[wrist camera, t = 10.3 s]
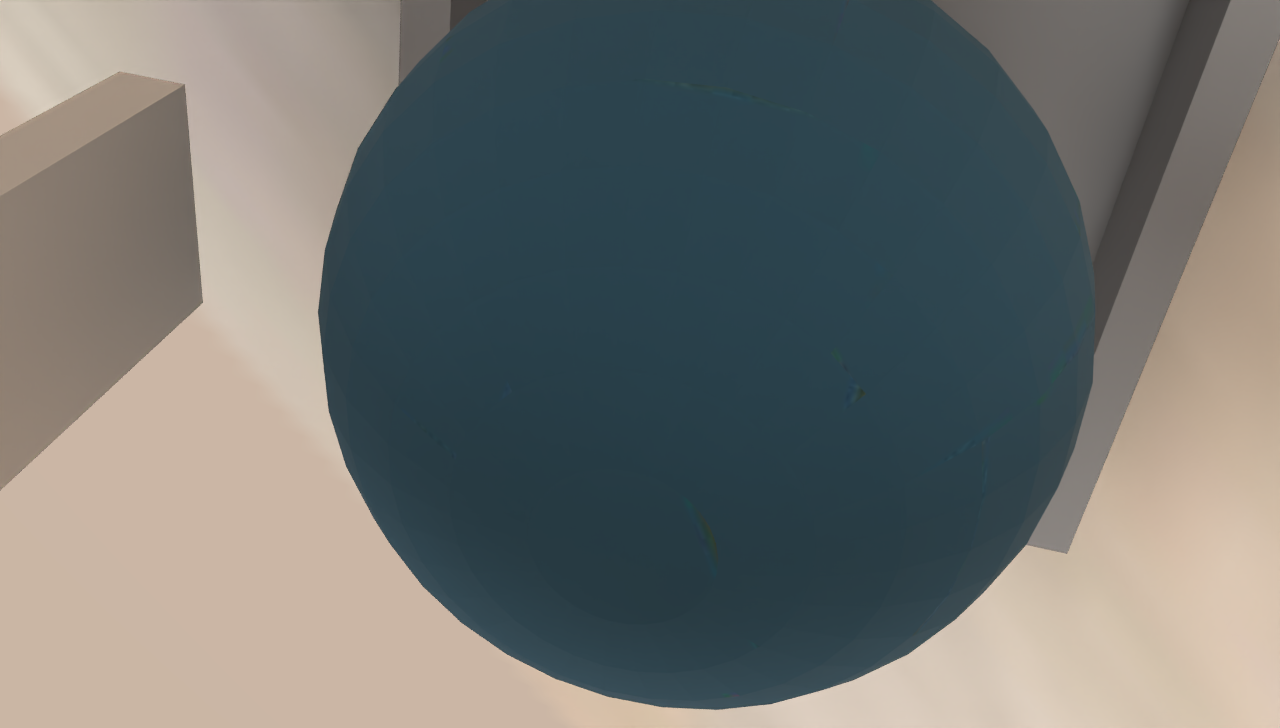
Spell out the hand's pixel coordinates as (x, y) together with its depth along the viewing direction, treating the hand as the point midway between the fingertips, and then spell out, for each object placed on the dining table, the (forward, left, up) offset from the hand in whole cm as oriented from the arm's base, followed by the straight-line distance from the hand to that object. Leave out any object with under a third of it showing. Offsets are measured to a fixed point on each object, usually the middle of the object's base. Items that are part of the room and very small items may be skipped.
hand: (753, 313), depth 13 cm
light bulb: (0, 0, -8) cm, 8 cm away
